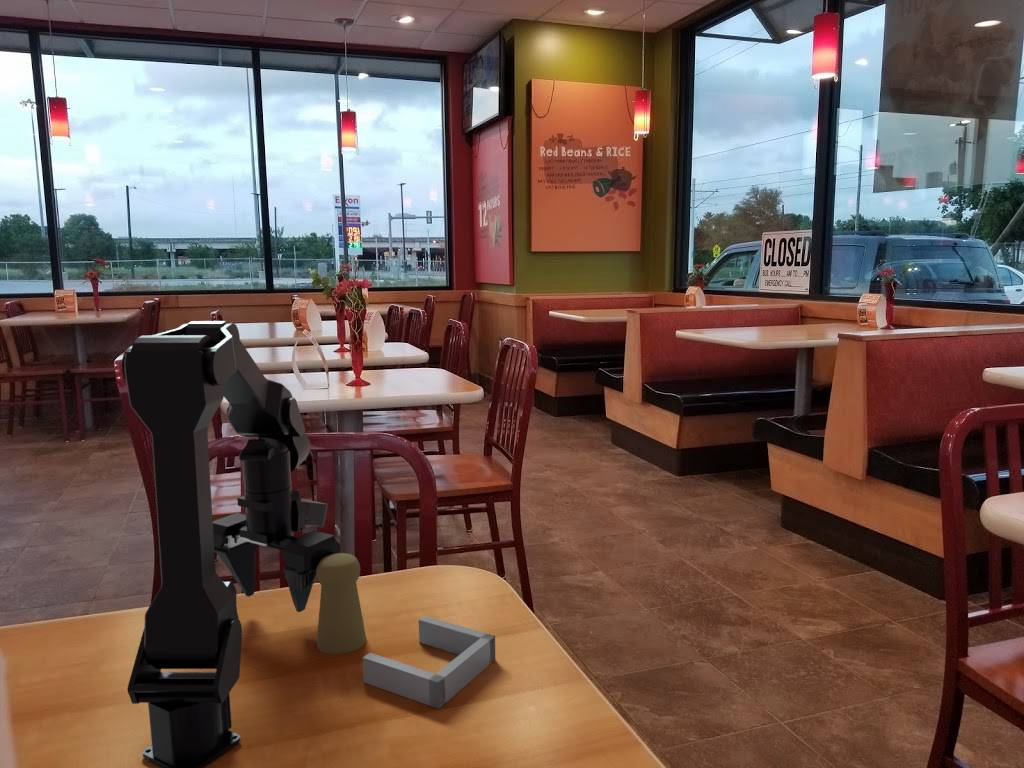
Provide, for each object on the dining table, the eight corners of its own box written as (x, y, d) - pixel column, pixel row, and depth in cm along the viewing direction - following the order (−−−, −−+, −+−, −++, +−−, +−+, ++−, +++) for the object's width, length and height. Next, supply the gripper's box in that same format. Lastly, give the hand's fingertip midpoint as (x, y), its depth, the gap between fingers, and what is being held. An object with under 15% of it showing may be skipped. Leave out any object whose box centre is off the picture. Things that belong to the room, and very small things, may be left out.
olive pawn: (372, 630, 98) (369, 548, 96) (358, 655, 92) (354, 567, 90) (325, 628, 98) (321, 546, 96) (309, 653, 92) (304, 566, 90)
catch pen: (438, 708, 81) (438, 682, 80) (363, 682, 86) (362, 657, 85) (495, 659, 91) (495, 635, 90) (425, 638, 96) (424, 615, 95)
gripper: (367, 481, 100) (371, 594, 102) (264, 462, 109) (271, 567, 112) (304, 505, 90) (310, 629, 93) (198, 482, 99) (206, 596, 102)
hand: (275, 603), depth 100 cm, fingers open, 9 cm apart
